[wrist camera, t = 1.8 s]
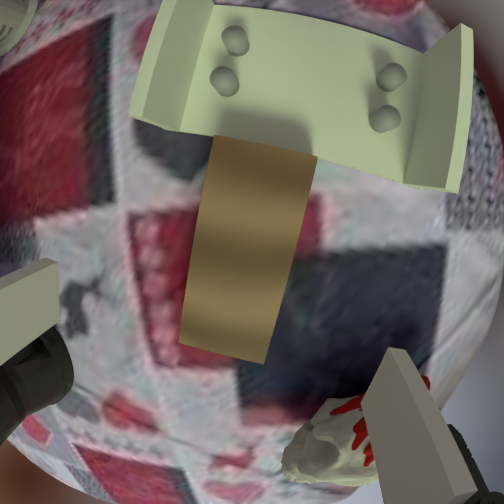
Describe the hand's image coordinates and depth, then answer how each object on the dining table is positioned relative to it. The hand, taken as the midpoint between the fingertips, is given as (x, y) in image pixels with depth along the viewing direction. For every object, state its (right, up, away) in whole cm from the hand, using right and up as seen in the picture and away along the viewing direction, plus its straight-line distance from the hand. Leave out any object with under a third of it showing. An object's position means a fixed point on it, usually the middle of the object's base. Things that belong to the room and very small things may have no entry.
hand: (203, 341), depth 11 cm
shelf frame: (+6, +16, +11) cm, 20 cm away
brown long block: (+1, +4, +15) cm, 15 cm away
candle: (+13, -13, +18) cm, 25 cm away
